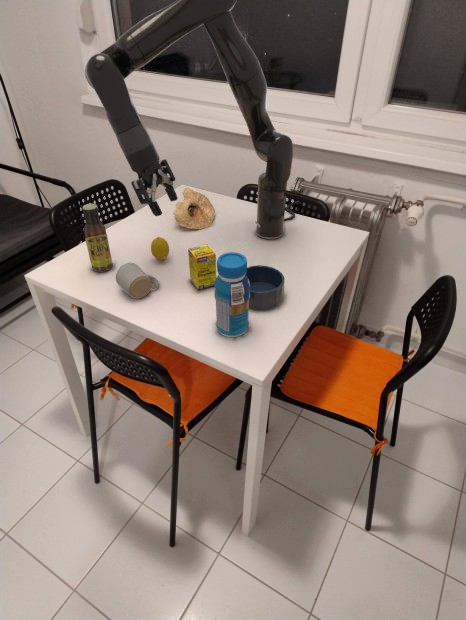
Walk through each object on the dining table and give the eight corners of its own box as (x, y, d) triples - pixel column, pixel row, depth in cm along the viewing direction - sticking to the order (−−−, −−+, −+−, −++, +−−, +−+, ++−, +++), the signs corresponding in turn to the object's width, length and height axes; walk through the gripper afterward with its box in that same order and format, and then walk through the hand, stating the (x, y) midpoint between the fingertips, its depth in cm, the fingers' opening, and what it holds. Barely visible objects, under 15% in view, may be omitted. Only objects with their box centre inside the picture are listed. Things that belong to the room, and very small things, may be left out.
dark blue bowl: (247, 278, 117) (247, 261, 113) (288, 289, 113) (290, 271, 109) (229, 303, 108) (228, 285, 104) (273, 315, 104) (275, 297, 100)
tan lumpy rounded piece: (208, 244, 145) (212, 231, 139) (169, 235, 143) (171, 221, 136) (214, 207, 154) (218, 193, 147) (177, 198, 152) (180, 184, 145)
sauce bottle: (94, 275, 119) (77, 213, 106) (90, 264, 123) (74, 204, 110) (116, 270, 121) (102, 208, 108) (111, 260, 125) (98, 200, 113)
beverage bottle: (210, 333, 99) (206, 265, 86) (223, 313, 105) (221, 246, 92) (242, 342, 96) (243, 273, 84) (253, 320, 102) (256, 253, 90)
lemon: (167, 265, 123) (164, 242, 118) (150, 263, 123) (146, 240, 118) (172, 256, 127) (170, 233, 122) (156, 254, 128) (153, 232, 123)
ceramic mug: (132, 304, 108) (127, 280, 103) (117, 290, 112) (112, 267, 108) (165, 289, 113) (162, 266, 108) (150, 277, 118) (146, 254, 113)
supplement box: (198, 291, 112) (195, 258, 105) (190, 281, 116) (187, 248, 109) (217, 286, 114) (216, 253, 107) (208, 275, 118) (206, 243, 111)
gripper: (133, 154, 90) (164, 218, 99) (163, 133, 100) (190, 193, 108) (110, 162, 94) (142, 222, 103) (141, 140, 104) (168, 198, 112)
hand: (166, 207), depth 106 cm, fingers open, 8 cm apart
